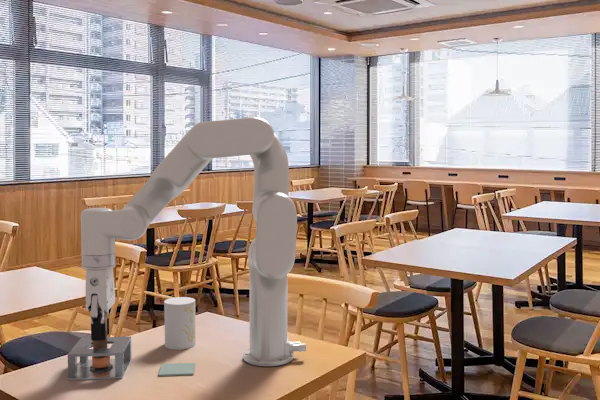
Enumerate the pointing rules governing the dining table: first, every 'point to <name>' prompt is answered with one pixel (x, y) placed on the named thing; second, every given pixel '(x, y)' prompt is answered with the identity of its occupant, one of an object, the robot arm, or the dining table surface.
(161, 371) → the mat
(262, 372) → the dining table surface
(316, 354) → the dining table surface
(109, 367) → the guard cage
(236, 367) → the dining table surface
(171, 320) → the cup
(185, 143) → the robot arm
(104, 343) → the brown wooden rod
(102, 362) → the breaker plunger
